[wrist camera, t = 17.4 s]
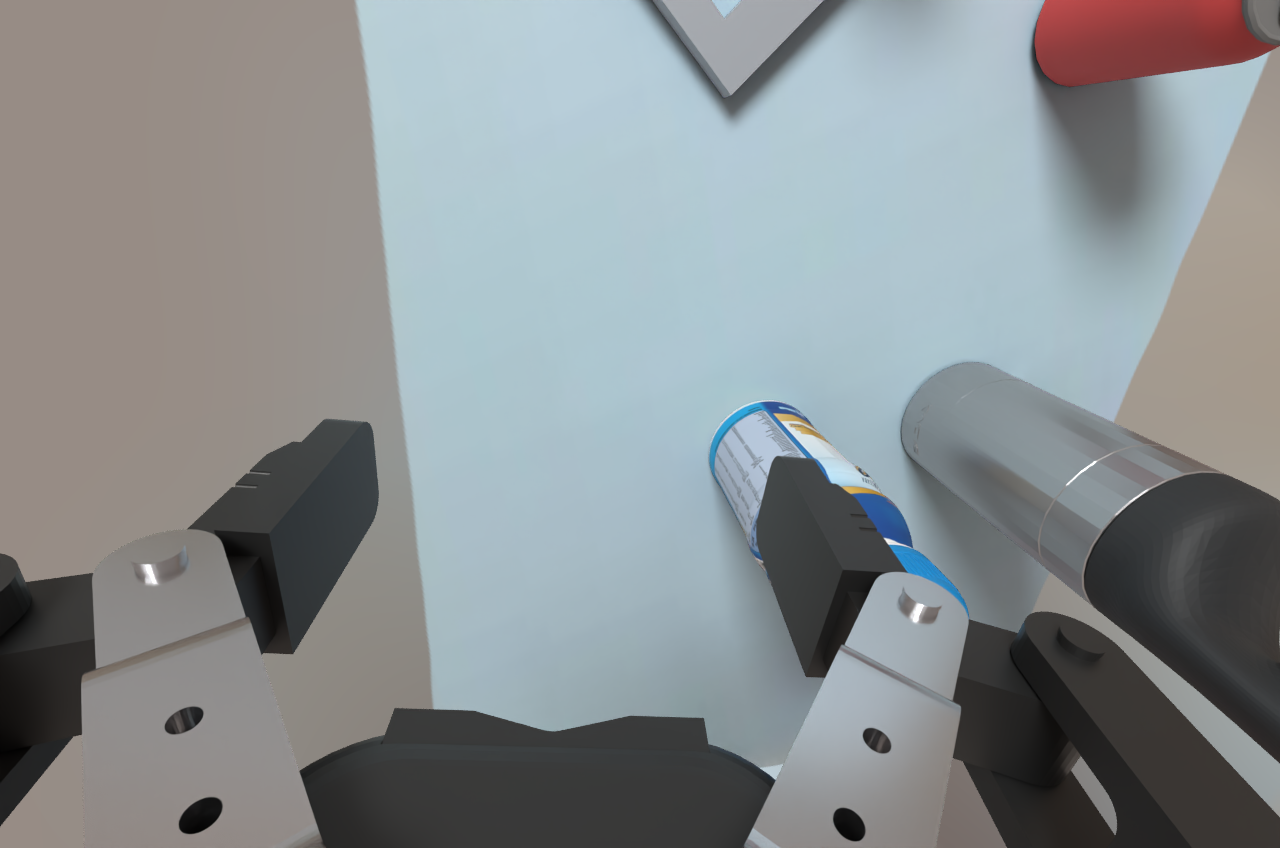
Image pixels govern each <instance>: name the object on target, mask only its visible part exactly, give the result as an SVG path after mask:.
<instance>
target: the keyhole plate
mask: <svg viewBox="0 0 1280 848" xmlns="http://www.w3.org/2000/svg"><path fill="white" fill-rule="evenodd" d="M652 1H653V2H654V3H655V5H656V6H657V8H658V9H659V10H660V12H661V13H662V14H663V16H664V17H665V18H666V20H667V21H668V23H669V24H670V25H671V27H672V28H673V29H674V31H675V32H676V33H677V35H678V36H679V38H680V39H681V40H682V42H683V43H684V44H685V46H686V47H687V49H688V50H689V51H690V53H691V54H692V55H693V57H694V58H695V59H696V61H697V62H698V64H699V65H700V66H701V68H702V69H703V70H704V72H705V73H706V74H707V76H708V77H709V79H710V80H711V81H712V83H713V84H714V85H715V87H716V88H717V89H718V91H719V92H720V94H721V95H722V96H723V98H725V97H728V96H731V95H732V94H733V93H734V92H735V91H736V90H737V89H738V88H739V87H740V86H741V85H742V84H743V83H744V82H745V81H746V80H747V79H748V78H749V77H750V76H751V75H752V73H753V72H754V71H755V70H756V69H757V68H758V67H759V66H760V65H761V64H762V63H763V62H764V61H765V60H766V59H767V58H768V57H769V56H770V55H771V54H772V53H773V52H774V51H775V50H776V49H777V48H778V47H779V46H780V45H781V44H782V43H783V42H784V41H785V40H786V39H787V38H788V36H789V35H790V34H791V33H792V32H793V31H794V30H795V29H796V28H797V27H798V26H799V25H800V24H801V23H802V22H803V21H804V20H805V19H806V18H807V17H808V16H809V15H810V14H811V13H812V12H813V11H814V10H815V9H816V8H817V7H818V6H819V5H820V4H821V3H822V2H823V1H824V0H741V1H740V2H739V3H738V4H737V5H736V6H735V7H734V8H733V9H732V10H731V11H730V13H729V14H728V15H727V16H726V17H725V18H723V16H722V15H721V13H720V12H719V10H718V9H717V8H716V6H715V5H714V3H713V2H712V0H652Z"/></svg>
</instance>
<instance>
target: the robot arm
mask: <svg viewBox="0 0 1280 848" xmlns="http://www.w3.org/2000/svg"><path fill="white" fill-rule="evenodd" d="M901 433H902V442H903V445H904V447H905V450H906V452H907V453H908V454H909V456H910V457H911V458H912V459H913V460H914V461H915V462H917V463H918V464H919V465H920V466H922V467H923V468H924V469H925V470H926V471H928V472H929V473H930V474H931V475H932V476H934V477H935V478H936V479H937V480H939V481H940V482H941V483H942V484H943V485H944V486H945V487H947V488H948V489H949V490H950V491H952V492H953V493H954V494H955V495H956V496H958V497H959V498H960V499H961V500H963V501H964V502H965V503H966V504H968V505H969V506H970V507H971V508H972V509H974V510H975V511H976V512H977V513H979V514H980V515H981V516H982V517H983V518H985V519H986V520H987V521H988V522H990V523H991V524H992V525H993V526H994V527H996V528H997V529H998V530H999V531H1001V532H1002V533H1003V534H1004V535H1006V536H1007V537H1008V538H1009V539H1010V540H1012V541H1013V542H1014V543H1015V544H1017V545H1018V546H1019V547H1020V548H1021V549H1023V550H1024V551H1025V552H1026V553H1028V554H1029V555H1030V556H1031V557H1033V558H1034V559H1035V560H1036V561H1037V562H1039V563H1040V564H1041V565H1042V566H1044V567H1045V568H1046V569H1047V570H1048V571H1050V572H1051V573H1052V574H1054V575H1055V576H1056V577H1057V578H1059V579H1060V580H1061V581H1062V582H1064V583H1065V584H1066V585H1067V586H1068V587H1070V588H1071V589H1072V590H1073V591H1075V592H1076V593H1077V594H1078V595H1080V596H1081V597H1082V598H1083V599H1084V600H1086V601H1087V602H1088V603H1089V604H1091V605H1092V606H1093V607H1094V608H1096V609H1097V610H1098V611H1099V612H1101V613H1102V614H1103V615H1104V616H1106V617H1107V618H1108V619H1109V620H1111V621H1112V622H1113V623H1114V624H1116V625H1117V626H1118V627H1120V628H1121V629H1122V630H1123V631H1125V632H1126V633H1127V634H1129V635H1130V636H1131V637H1133V638H1134V639H1135V640H1136V641H1138V642H1139V643H1140V644H1141V645H1143V646H1144V647H1145V648H1146V649H1148V650H1149V651H1150V652H1151V653H1153V654H1154V655H1155V656H1156V657H1158V658H1159V659H1160V660H1161V661H1162V662H1164V663H1165V664H1166V665H1167V666H1168V667H1170V668H1171V669H1172V670H1173V671H1174V672H1176V673H1177V674H1178V675H1179V676H1181V677H1182V678H1183V679H1184V680H1185V681H1187V682H1188V683H1189V684H1190V685H1191V686H1193V687H1194V688H1195V689H1196V690H1197V691H1199V692H1200V693H1201V694H1202V695H1203V696H1204V697H1206V698H1207V699H1208V700H1209V701H1210V702H1211V703H1212V704H1214V705H1215V706H1216V707H1217V708H1218V709H1219V710H1220V711H1222V712H1223V713H1224V714H1225V715H1226V716H1227V717H1228V718H1230V719H1231V720H1232V721H1233V722H1234V723H1235V724H1237V725H1238V726H1239V727H1240V728H1241V729H1242V730H1243V731H1244V732H1245V733H1247V734H1248V735H1249V736H1250V737H1251V738H1252V739H1253V740H1254V741H1255V742H1257V743H1258V744H1259V745H1260V746H1261V747H1262V748H1263V749H1264V750H1266V751H1267V752H1268V753H1269V754H1270V755H1271V756H1272V757H1273V758H1274V759H1276V760H1277V761H1278V762H1279V763H1280V645H1279V631H1280V501H1279V500H1278V499H1276V498H1274V497H1273V496H1271V495H1269V494H1267V493H1265V492H1263V491H1261V490H1259V489H1257V488H1255V487H1252V486H1251V485H1248V484H1246V483H1244V482H1242V481H1240V480H1238V479H1235V478H1233V477H1231V476H1229V475H1226V474H1224V473H1222V472H1220V471H1218V470H1216V469H1213V468H1211V467H1209V466H1207V465H1204V464H1202V463H1200V462H1198V461H1196V460H1194V459H1192V458H1190V457H1187V456H1185V455H1183V454H1181V453H1179V452H1176V451H1174V450H1172V449H1169V448H1167V447H1165V446H1163V445H1161V444H1158V443H1156V442H1154V441H1152V440H1150V439H1148V438H1145V437H1143V436H1141V435H1139V434H1137V433H1135V432H1133V431H1130V430H1128V429H1126V428H1124V427H1122V426H1120V425H1117V424H1115V423H1113V422H1111V421H1109V420H1107V419H1104V418H1102V417H1100V416H1098V415H1096V414H1094V413H1091V412H1089V411H1087V410H1085V409H1083V408H1081V407H1078V406H1076V405H1074V404H1072V403H1070V402H1068V401H1066V400H1063V399H1061V398H1059V397H1057V396H1055V395H1053V394H1050V393H1048V392H1046V391H1044V390H1042V389H1040V388H1037V387H1035V386H1033V385H1031V384H1029V383H1027V382H1025V381H1023V380H1021V379H1018V378H1016V377H1014V376H1012V375H1010V374H1008V373H1005V372H1003V371H1001V370H999V369H997V368H995V367H992V366H990V365H987V364H983V363H979V362H966V363H962V364H957V365H954V366H951V367H949V368H946V369H944V370H942V371H941V372H939V373H937V374H936V375H934V376H933V377H931V378H930V379H929V380H928V381H927V382H926V383H925V384H923V385H922V386H921V387H920V389H919V390H918V391H917V392H916V394H915V395H914V396H913V398H912V399H911V401H910V403H909V405H908V407H907V409H906V411H905V414H904V417H903V421H902V429H901ZM375 459H376V458H375V448H374V437H373V431H372V428H371V425H370V424H369V423H368V422H361V421H348V420H335V419H325V420H323V421H322V422H321V423H320V424H319V425H318V426H317V427H316V428H315V429H314V430H313V431H312V432H311V433H310V434H309V435H308V436H307V437H306V438H305V439H304V440H303V441H302V442H291V443H289V444H287V445H286V446H283V447H281V448H279V449H277V450H275V451H273V452H271V453H269V454H267V455H266V456H265V457H264V458H262V459H261V460H260V461H259V462H258V463H257V464H256V465H255V466H254V467H253V468H252V469H251V470H250V473H249V474H245V475H244V476H243V477H242V478H241V479H240V480H239V481H238V482H237V483H236V486H235V487H232V488H231V489H229V490H228V491H227V492H226V493H225V494H224V495H223V496H222V497H221V498H220V499H219V500H218V501H217V502H215V503H214V504H213V505H212V506H211V507H210V508H209V509H208V510H207V511H206V512H205V513H204V514H203V515H202V516H201V517H200V518H199V519H197V520H196V521H195V522H194V523H193V524H192V525H191V526H190V527H189V528H188V529H185V530H173V531H166V532H161V533H156V534H153V535H149V536H146V537H143V538H140V539H138V540H135V541H132V542H130V543H128V544H126V545H124V546H122V547H120V548H119V549H117V550H115V551H114V552H112V553H111V554H109V555H108V556H107V557H106V558H104V559H103V560H102V561H101V562H100V563H99V565H98V566H97V567H96V569H95V571H94V573H90V574H83V575H75V576H69V577H61V578H53V579H46V580H39V581H31V582H25V580H24V578H23V576H22V574H21V571H20V569H19V567H18V564H17V562H16V561H15V560H14V559H13V558H12V557H10V556H7V555H5V554H0V826H1V824H3V822H4V821H5V820H6V818H7V817H8V816H9V815H10V814H11V812H12V811H13V810H14V809H15V807H16V806H17V805H18V804H19V803H20V801H21V800H22V799H23V798H24V796H25V795H26V794H27V793H28V792H29V790H30V789H31V788H32V787H33V785H34V784H35V783H36V782H37V781H38V779H39V778H40V777H41V776H42V774H43V773H44V772H45V771H46V769H47V768H48V767H49V766H50V765H51V763H52V762H53V761H54V760H55V758H56V757H57V756H58V755H59V753H60V752H61V751H62V750H63V749H64V747H65V746H66V745H67V744H68V742H69V741H70V740H71V739H72V738H73V736H78V735H82V756H83V807H84V808H83V809H84V848H936V843H937V838H938V832H939V827H940V822H941V817H942V811H943V806H944V801H945V795H946V790H947V785H948V779H949V774H950V769H951V763H952V758H955V759H958V760H961V761H963V763H964V765H965V766H966V769H967V770H968V772H969V774H970V776H971V778H972V780H973V782H974V784H975V786H976V788H977V790H978V792H979V794H980V796H981V798H982V799H983V802H984V804H985V806H986V807H987V809H988V811H989V813H990V815H991V817H992V819H993V821H994V823H995V825H996V827H997V829H998V831H999V833H1000V835H1001V837H1002V838H1003V841H1004V842H1005V844H1006V846H1007V848H1280V817H1279V816H1278V815H1277V814H1276V813H1275V812H1274V811H1273V810H1272V809H1271V808H1270V806H1268V804H1267V803H1266V802H1265V801H1264V800H1263V799H1262V798H1261V797H1260V796H1259V795H1258V794H1257V793H1256V792H1255V791H1254V790H1253V788H1252V787H1251V786H1250V785H1249V784H1248V783H1247V782H1246V781H1245V780H1244V779H1243V778H1242V777H1241V776H1240V775H1239V774H1238V772H1237V771H1236V770H1235V769H1234V768H1233V767H1232V766H1231V765H1230V764H1229V763H1228V762H1227V761H1226V760H1225V759H1224V758H1223V757H1222V756H1221V754H1220V753H1219V752H1218V751H1217V750H1216V749H1215V748H1214V747H1213V746H1212V745H1211V744H1210V743H1209V742H1208V741H1207V739H1206V738H1205V737H1203V735H1202V734H1201V733H1200V732H1199V731H1198V730H1197V729H1196V728H1195V727H1194V726H1193V725H1192V724H1191V722H1189V720H1188V719H1187V718H1186V717H1185V716H1184V715H1183V714H1182V713H1181V712H1180V711H1179V710H1178V709H1177V708H1176V707H1175V705H1174V704H1173V703H1172V702H1171V701H1170V700H1169V699H1168V698H1167V697H1166V696H1165V695H1164V694H1163V693H1162V692H1161V691H1160V690H1159V689H1158V687H1157V686H1156V685H1155V684H1154V683H1153V682H1152V681H1151V680H1150V679H1149V678H1148V677H1147V676H1146V675H1145V674H1144V673H1143V671H1142V670H1141V669H1140V668H1139V667H1138V666H1137V665H1136V664H1135V663H1134V662H1133V661H1132V660H1131V659H1130V658H1129V657H1128V656H1127V655H1126V653H1124V651H1123V650H1122V649H1121V648H1120V647H1119V646H1118V645H1117V644H1115V643H1114V642H1113V641H1112V640H1110V639H1109V638H1108V637H1106V636H1105V635H1103V634H1102V633H1100V632H1099V631H1097V630H1096V629H1094V628H1092V627H1090V626H1089V625H1087V624H1085V623H1083V622H1081V621H1078V620H1076V619H1073V618H1071V617H1068V616H1065V615H1061V614H1058V613H1052V612H1035V613H1032V614H1030V615H1029V616H1027V618H1026V620H1025V621H1024V623H1023V625H1022V627H1021V629H1020V630H1019V632H1018V633H1015V632H1011V631H1008V630H1004V629H1001V628H997V627H994V626H990V625H986V624H983V623H979V622H976V621H973V620H970V619H968V615H967V612H966V610H965V608H964V607H963V606H962V604H961V603H960V602H959V601H958V600H957V599H956V597H954V596H953V595H952V594H951V593H950V592H948V591H947V590H946V589H944V588H943V587H941V586H940V585H938V584H936V583H934V582H932V581H930V580H928V579H926V578H923V577H921V576H917V575H914V574H910V573H908V572H907V571H906V569H905V568H904V566H903V565H902V564H901V562H900V561H899V559H898V558H897V556H896V555H895V553H894V552H893V551H892V549H891V548H890V546H889V545H888V543H887V542H886V540H885V539H884V538H883V536H882V535H881V533H880V532H877V528H876V526H875V525H874V523H873V522H872V520H871V519H870V518H868V515H867V513H866V512H865V510H864V509H863V507H862V506H861V504H860V503H859V502H858V500H857V499H856V498H855V497H854V496H852V495H851V494H850V493H848V492H847V491H846V490H844V489H843V488H842V487H841V486H839V485H838V484H834V483H829V481H828V479H827V478H826V476H825V475H824V473H823V472H822V470H821V469H820V467H819V466H818V464H817V463H816V461H815V460H814V459H812V458H801V457H788V456H776V457H775V458H774V459H773V461H772V463H771V467H770V470H769V474H768V478H767V482H766V486H765V490H764V494H763V498H762V502H761V506H760V510H759V514H758V518H757V525H756V540H757V546H758V549H759V552H760V555H761V557H762V560H763V563H764V566H765V568H766V571H767V574H768V576H769V579H770V582H771V584H772V587H773V590H774V593H775V595H776V598H777V601H778V603H779V606H780V609H781V611H782V614H783V617H784V619H785V622H786V625H787V628H788V630H789V633H790V636H791V638H792V641H793V644H794V646H795V649H796V652H797V654H798V657H799V660H800V663H801V665H802V668H803V671H804V673H805V676H806V677H822V678H825V679H824V681H823V684H822V686H821V688H820V690H819V692H818V694H817V696H816V698H815V700H814V702H813V704H812V706H811V708H810V710H809V713H808V715H807V717H806V719H805V721H804V723H803V725H802V727H801V729H800V731H799V733H798V735H797V737H796V739H795V742H794V744H793V746H792V748H791V750H790V752H789V754H788V756H787V758H786V760H785V762H784V764H783V766H782V768H781V771H780V773H779V775H778V777H777V779H776V780H775V779H773V778H772V777H771V776H770V775H769V774H767V773H766V772H764V771H763V770H761V769H760V768H758V767H757V766H756V765H754V764H753V763H751V762H749V761H747V760H745V759H743V758H742V757H740V756H738V755H736V754H734V753H732V752H729V751H727V750H724V749H722V748H719V747H716V746H713V745H710V744H708V740H707V734H706V728H705V722H704V718H681V717H650V716H628V717H623V718H618V719H614V720H609V721H604V722H600V723H595V724H590V725H585V726H581V727H576V728H571V729H566V730H562V731H555V732H554V731H544V730H541V729H537V728H533V727H530V726H526V725H523V724H519V723H516V722H512V721H508V720H505V719H501V718H498V717H494V716H491V715H487V714H483V713H480V712H476V711H465V710H434V709H403V708H401V709H400V708H395V709H394V712H393V714H392V717H391V720H390V723H389V725H388V728H387V731H386V734H385V735H383V736H378V737H374V738H371V739H368V740H364V741H361V742H358V743H355V744H352V745H349V746H347V747H345V748H342V749H340V750H337V751H335V752H332V753H331V754H328V755H327V756H325V757H323V758H321V759H319V760H317V761H315V762H313V763H311V764H310V765H308V766H306V767H305V768H303V769H302V770H300V771H299V769H298V766H297V763H296V760H295V757H294V754H293V751H292V747H291V744H290V741H289V738H288V735H287V732H286V729H285V726H284V723H283V720H282V717H281V714H280V710H279V707H278V704H277V701H276V698H275V695H274V692H273V689H272V686H271V683H270V680H269V677H268V674H267V671H266V668H265V664H264V662H263V658H262V654H263V653H279V654H293V653H294V652H295V650H296V648H297V647H298V645H299V643H300V642H301V640H302V639H303V637H304V635H305V634H306V632H307V630H308V629H309V627H310V625H311V624H312V622H313V620H314V619H315V617H316V615H317V614H318V612H319V610H320V609H321V607H322V605H323V604H324V602H325V600H326V599H327V597H328V595H329V594H330V592H331V591H332V589H333V587H334V586H335V584H336V582H337V580H338V579H339V577H340V576H341V574H342V572H343V571H344V569H345V567H346V566H347V564H348V562H349V561H350V559H351V557H352V556H353V554H354V552H355V551H356V549H357V547H358V546H359V544H360V542H361V541H362V539H363V538H364V535H365V534H366V532H367V531H368V529H369V528H370V526H371V524H372V522H373V520H374V518H375V515H376V511H377V506H378V498H379V497H378V496H379V491H378V479H377V469H376V460H375ZM1080 756H1081V757H1082V758H1083V759H1084V761H1085V762H1086V764H1087V765H1088V766H1089V768H1090V769H1091V771H1092V772H1093V773H1094V775H1095V776H1096V778H1097V779H1098V780H1099V782H1100V783H1101V785H1102V786H1103V787H1104V789H1105V790H1106V792H1107V793H1108V795H1109V797H1110V799H1111V801H1112V803H1113V806H1114V809H1115V812H1116V816H1117V832H1116V835H1114V833H1113V832H1112V831H1111V829H1110V827H1109V826H1108V824H1107V823H1106V822H1105V820H1104V819H1103V817H1102V816H1101V814H1100V813H1099V811H1098V810H1097V808H1096V807H1095V805H1094V804H1093V803H1092V801H1091V800H1090V798H1089V797H1088V795H1087V794H1086V792H1085V791H1084V789H1083V788H1082V786H1081V785H1080V783H1079V782H1078V780H1077V779H1076V778H1075V776H1074V774H1073V773H1072V772H1071V769H1072V768H1073V766H1074V765H1075V763H1076V762H1077V760H1078V759H1079V758H1080Z"/></svg>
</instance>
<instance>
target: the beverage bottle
mask: <svg viewBox="0 0 1280 848" xmlns="http://www.w3.org/2000/svg"><path fill="white" fill-rule="evenodd" d="M776 456H788V457H801V458H812V459H814V460H815V461H816V463H817V464H818V466H819V467H820V469H821V470H822V472H823V473H824V475H825V476H826V478H827V479H828V481H829V483H834V484H838V485H839V486H841V487H842V488H843V489H844V490H846V491H847V492H848V493H850V494H851V495H852V496H854V497H855V498H856V499H857V500H858V502H859V503H860V504H861V506H862V507H863V509H864V510H865V512H866V513H867V515H868V518H870V519H871V520H872V522H873V523H874V525H875V526H876V528H877V532H880V533H881V535H882V536H883V538H884V539H885V540H886V542H887V543H888V545H889V546H890V548H891V549H892V551H893V552H894V553H895V555H896V556H897V558H898V559H899V561H900V562H901V564H902V565H903V566H904V568H905V569H906V571H907V572H908V573H910V574H914V575H917V576H921V577H923V578H926V579H928V580H930V581H932V582H934V583H936V584H938V585H940V586H941V587H943V588H944V589H946V590H947V591H948V592H950V593H951V594H952V595H953V596H954V597H956V599H957V600H958V601H959V602H960V603H961V604H962V606H963V607H964V608H965V610H966V612H967V615H968V619H969V613H968V609H967V606H966V603H965V601H964V600H963V598H962V597H961V594H960V593H959V592H958V590H957V589H956V588H955V586H954V585H953V584H952V583H951V582H950V581H949V580H948V579H947V578H946V577H945V576H944V575H943V574H942V573H941V572H940V570H939V569H938V568H937V567H936V566H934V565H933V564H932V563H931V562H930V561H929V560H928V559H927V558H926V557H925V556H924V555H923V554H921V553H920V552H918V551H916V550H914V549H913V545H912V540H911V535H910V532H909V529H908V526H907V524H906V522H905V519H904V517H903V515H902V514H901V512H900V511H899V509H898V508H897V506H896V505H895V504H894V503H893V502H892V501H891V500H890V499H888V498H887V497H886V496H884V495H883V494H882V493H881V491H880V489H879V487H878V486H877V485H876V483H875V482H874V481H873V480H872V479H871V477H870V476H869V475H868V474H867V473H865V472H864V471H863V470H862V469H861V468H859V467H858V466H856V465H854V464H852V463H850V462H848V461H847V460H846V459H845V458H844V457H843V456H842V455H841V454H840V453H839V452H838V451H837V450H836V449H835V448H834V447H833V446H832V445H831V444H830V443H829V442H828V441H827V440H826V439H825V438H824V437H823V436H822V435H821V434H820V433H819V432H818V431H817V430H816V429H815V428H814V427H813V425H812V424H811V423H810V422H809V420H808V419H807V418H806V417H805V416H804V415H803V414H802V413H801V412H800V411H799V410H797V409H796V408H794V407H793V406H791V405H789V404H786V403H783V402H780V401H773V400H763V401H756V402H752V403H749V404H746V405H744V406H742V407H740V408H738V409H737V410H735V411H734V412H732V413H731V414H730V415H728V416H727V417H726V418H725V419H724V420H723V421H722V423H721V424H720V425H719V426H718V428H717V429H716V431H715V433H714V435H713V437H712V440H711V443H710V448H709V464H710V468H711V471H712V474H713V476H714V478H715V479H716V481H717V483H718V484H719V486H720V487H721V489H722V491H723V493H724V495H725V496H726V498H727V500H728V502H729V504H730V506H731V508H732V510H733V512H734V514H735V516H736V518H737V519H738V521H739V523H740V525H741V527H742V529H743V531H744V533H745V535H746V537H747V541H748V545H749V548H750V550H751V552H752V554H753V556H754V558H755V559H756V561H757V562H758V564H759V565H760V566H761V567H762V569H763V570H764V571H765V572H766V573H767V571H766V568H765V566H764V563H763V560H762V557H761V555H760V552H759V549H758V546H757V540H756V525H757V518H758V514H759V510H760V506H761V502H762V498H763V494H764V490H765V486H766V482H767V478H768V474H769V470H770V467H771V463H772V461H773V459H774V458H775V457H776ZM767 576H768V574H767ZM768 579H769V576H768ZM769 581H770V579H769ZM770 583H771V582H770ZM771 585H772V584H771Z"/></svg>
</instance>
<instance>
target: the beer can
mask: <svg viewBox="0 0 1280 848" xmlns="http://www.w3.org/2000/svg"><path fill="white" fill-rule="evenodd" d="M1034 42H1035V50H1036V58H1037V61H1038V63H1039V65H1040V67H1041V69H1042V71H1043V73H1044V74H1045V75H1046V76H1047V77H1049V78H1050V79H1051V80H1052V81H1053V82H1055V83H1056V84H1060V85H1064V86H1068V87H1073V86H1080V85H1087V84H1094V83H1101V82H1109V81H1116V80H1123V79H1130V78H1137V77H1145V76H1152V75H1159V74H1166V73H1173V72H1181V71H1188V70H1195V69H1202V68H1209V67H1216V66H1224V65H1230V64H1236V63H1242V62H1245V61H1248V60H1251V59H1254V58H1256V57H1259V56H1261V55H1263V54H1265V53H1267V52H1269V51H1271V50H1273V49H1275V48H1276V47H1279V46H1280V0H1045V2H1044V4H1043V7H1042V10H1041V12H1040V15H1039V18H1038V21H1037V25H1036V33H1035V40H1034Z"/></svg>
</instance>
